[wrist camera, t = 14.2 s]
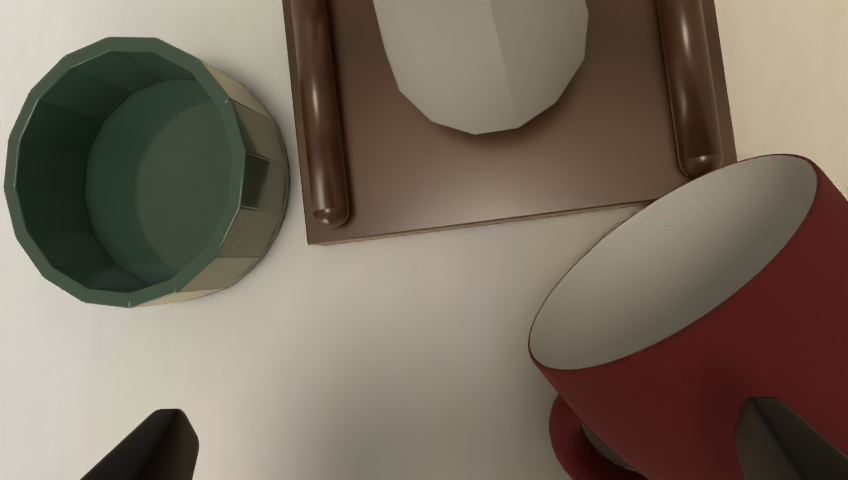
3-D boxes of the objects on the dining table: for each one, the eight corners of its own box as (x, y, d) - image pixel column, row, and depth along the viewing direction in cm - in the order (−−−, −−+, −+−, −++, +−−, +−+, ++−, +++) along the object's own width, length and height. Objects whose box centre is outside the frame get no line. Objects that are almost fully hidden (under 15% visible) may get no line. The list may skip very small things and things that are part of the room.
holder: (329, 128, 21) (290, 104, 18) (225, 340, 22) (168, 356, 19) (141, 34, 23) (72, -5, 20) (48, 233, 24) (-35, 229, 20)
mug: (674, 735, 15) (424, 464, 14) (658, 497, 22) (491, 305, 21) (1221, 661, 10) (890, 228, 9) (974, 382, 17) (774, 122, 16)
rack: (725, 194, 19) (814, 165, 13) (322, 245, 21) (242, 241, 15) (679, -128, 19) (743, -295, 13) (292, -40, 22) (203, -149, 16)
